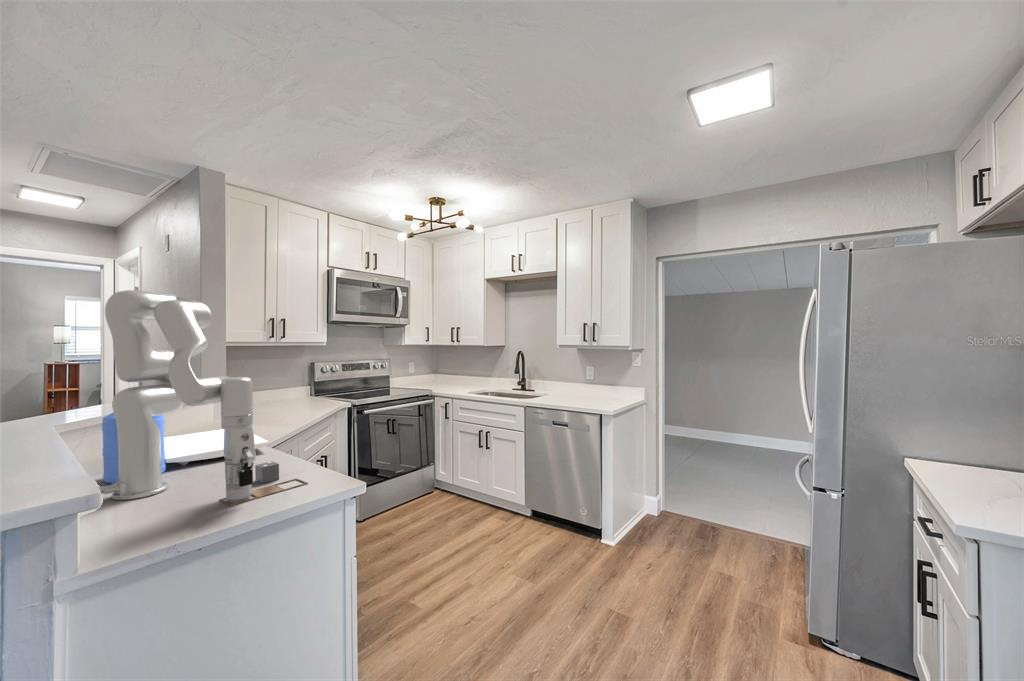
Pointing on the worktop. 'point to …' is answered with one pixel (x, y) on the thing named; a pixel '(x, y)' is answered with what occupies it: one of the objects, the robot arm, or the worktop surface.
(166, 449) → the board
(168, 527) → the worktop surface
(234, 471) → the energy drink can
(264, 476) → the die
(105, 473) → the water jug
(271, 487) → the board
